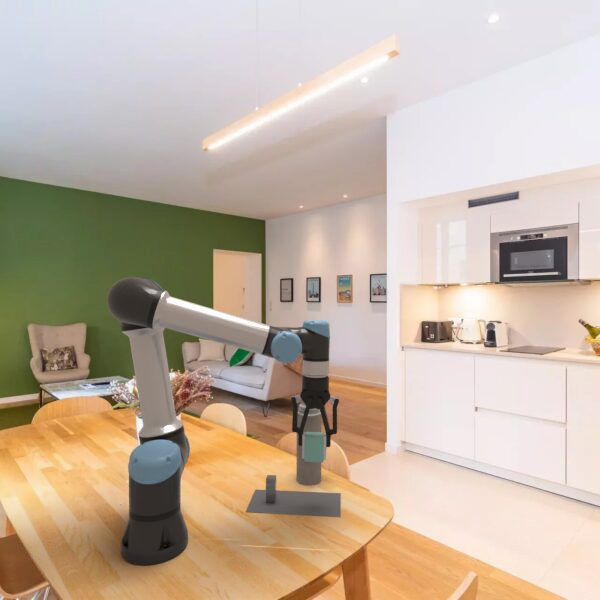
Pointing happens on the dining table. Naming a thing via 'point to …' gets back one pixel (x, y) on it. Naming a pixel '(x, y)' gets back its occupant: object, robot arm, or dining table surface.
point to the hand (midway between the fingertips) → (314, 457)
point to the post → (271, 489)
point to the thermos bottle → (305, 470)
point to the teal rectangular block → (314, 447)
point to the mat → (297, 503)
